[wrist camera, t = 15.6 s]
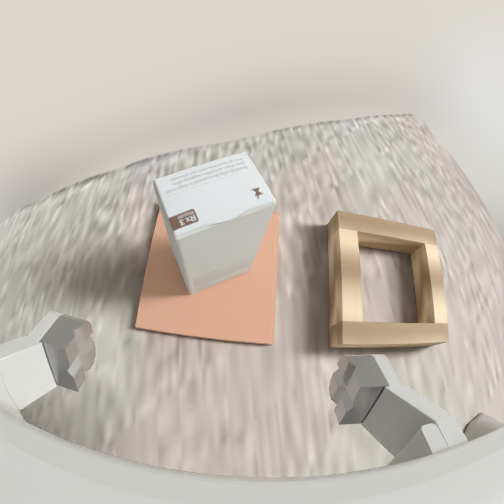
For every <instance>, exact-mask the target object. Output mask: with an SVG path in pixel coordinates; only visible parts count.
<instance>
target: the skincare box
mask: <svg viewBox="0 0 504 504" xmlns="http://www.w3.org/2000/svg"><path fill="white" fill-rule="evenodd" d="M153 185H154V189H155V193H156V197H157V200H158V204H159V207H160V210H161V214H162V217H163V221H164V224H165V228H166V231H167V234H168V238H169V241H170V244H171V247H172V251H173V254H174V256H175V259H176V261H177V264H178V266H179V269H180V271H181V274H182V276H183V279H184V282H185V284H186V287H187V290H188V292H189V294H194V293H196V292H199V291H201V290H204V289H206V288H209V287H211V286H214V285H216V284H219V283H221V282H224V281H226V280H229V279H231V278H233V277H236V276H238V275H241V274H243V273H246V272H248V271H250V269H251V266H252V264H253V261H254V259H255V256H256V254H257V251H258V249H259V246H260V244H261V241H262V238H263V236H264V233H265V231H266V228H267V226H268V223H269V221H270V218H271V215H272V213H273V210H274V208H275V206H276V200H275V198H274V197H273V195H272V193H271V192H270V190H269V188H268V187H267V185H266V183H265V182H264V180H263V179H262V177H261V175H260V174H259V172H258V171H257V169H256V167H255V166H254V164H253V163H252V161H251V159H250V158H249V157H248V155H247V154H246V152H241V153H237V154H234V155H230V156H227V157H224V158H220V159H217V160H214V161H210V162H207V163H204V164H201V165H197V166H194V167H191V168H188V169H185V170H182V171H179V172H176V173H173V174H170V175H167V176H164V177H161V178H158V179H155V180H154V181H153Z"/></svg>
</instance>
